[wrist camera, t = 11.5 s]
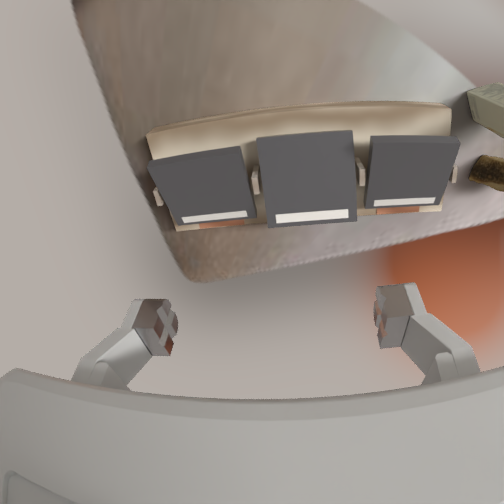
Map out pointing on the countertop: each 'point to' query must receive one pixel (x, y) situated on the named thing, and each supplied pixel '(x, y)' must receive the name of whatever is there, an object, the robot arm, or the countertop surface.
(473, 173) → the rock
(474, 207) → the countertop surface
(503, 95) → the skincare box
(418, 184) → the rocker
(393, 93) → the countertop surface
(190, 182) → the panel
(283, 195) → the panel
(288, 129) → the switch panel
